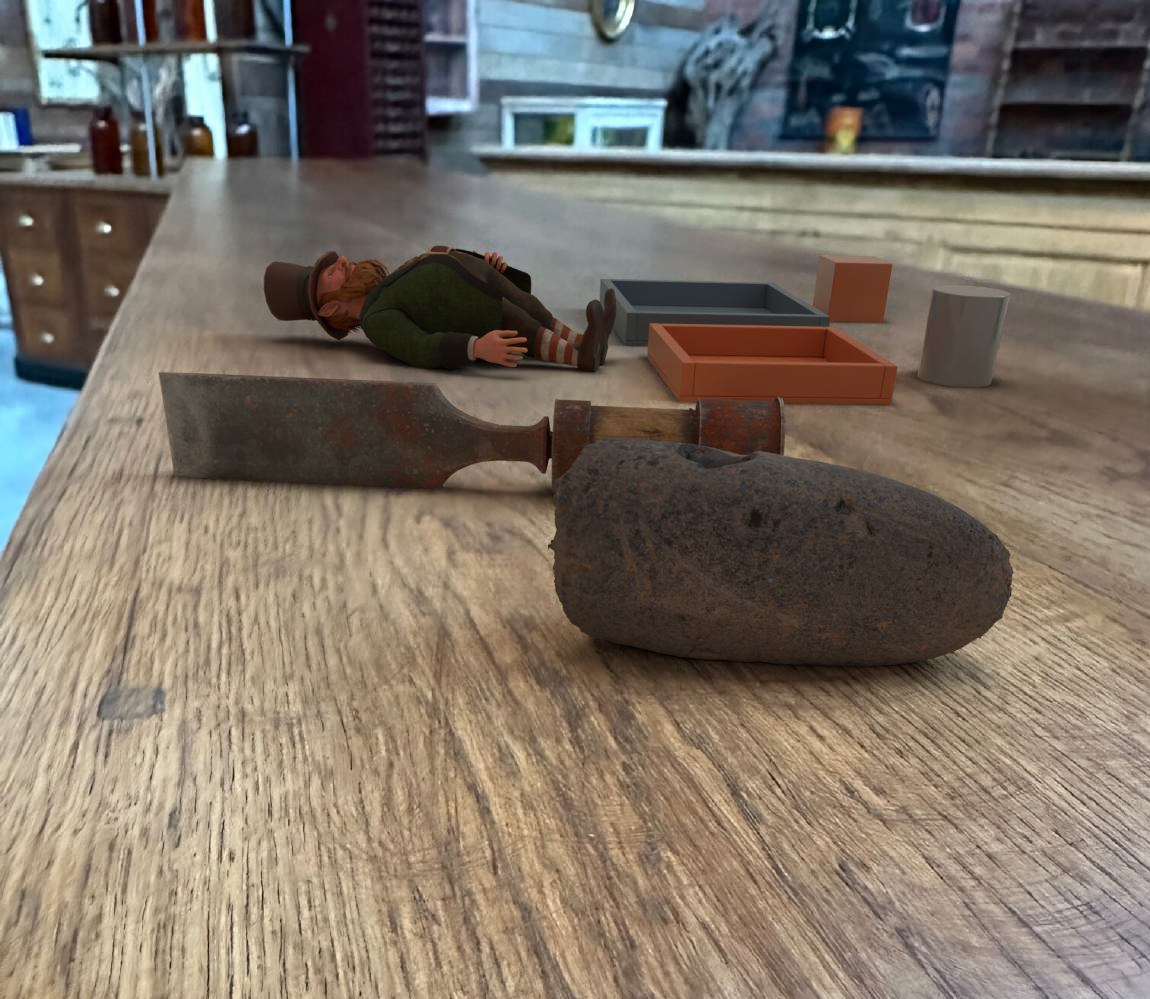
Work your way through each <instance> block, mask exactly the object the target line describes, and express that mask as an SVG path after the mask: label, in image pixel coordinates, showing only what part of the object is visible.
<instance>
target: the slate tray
mask: <svg viewBox="0 0 1150 999" xmlns="http://www.w3.org/2000/svg"><path fill="white" fill-rule="evenodd" d="M599 283H600V284H599V302H600V303H601V305H602V308H603V311H604V296H605V293H606V291H607V290H608V289H611V288H612V289H614V291H615V296H616V317H615V322H614V326H613V330H614V331H615V332H616V335H617V336H618V337H619V339H620V340H621V341H622V343H623V344H624V346H633V347H634V346H637V347H639V346H641V347H648V337H649V324H650V323H659V324H708V325H760V326H811V327H830V323H831V322H830V316H828V315H827V314H825V313H823V312H822V311H820V310H818V309H817V308H815V307H813V304H812V305H811V304H810V303H809V302H806V301H805V300H803V299H802V298H800V297H799V296H797V295H795V294H793V293H792V292H790V291H788V290H786V289H785V288H784V287H781V286H780V285H779V284H776V283H775V282H760V281H759V282H756V281H755V282H754V281H750V282H749V281H716V280H715V281H714V280H713V281H712V280H670V279H669V280H668V279H630V278H629V279H627V278H625V279H624V278H622V279H621V278H600V280H599Z"/></svg>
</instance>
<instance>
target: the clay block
mask: <svg viewBox="0 0 1150 999" xmlns="http://www.w3.org/2000/svg"><path fill="white" fill-rule="evenodd" d="M816 270H817V271H816V277H815V285H814V292H813V293H814V294H813V299H812V300H813V302H812V306H813V307H815V308H817V309H818V310H820V311H822V312H823V313H825V314H827V315H828V316H830V323H867V324H868V323H871V324H873V323H875V324H883V323H884V321H885V320H884V319H885V313H886V305H887V303H888V302H887V300H888V295H889V289H890V283H891V276H892V272H893V263H891V262H889V261H886V260H884V259H881V258H878V257H877V256H875V255H874V256H873V255H838V254H837V255H832V254H831V255H830V254H820V255H818V264H817V269H816Z"/></svg>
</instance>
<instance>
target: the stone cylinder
mask: <svg viewBox="0 0 1150 999" xmlns="http://www.w3.org/2000/svg"><path fill="white" fill-rule="evenodd" d="M1010 298H1011V293H1010V292H1008V291H1005V290H1002V289H999V288H991V287H986V286H985V287H984V286H976V285H960V284H959V285H958V284H957V285H956V284H955V285H953V284H949V285H947V284H946V285H939V286H934V287H933V289H932V294H931V297H930V305H929V308H928V314H927V320H926V326H925V330H924V336H923V342H922V347H921V352H920V359H919V362H918V363H919V364H918V370H917V375H916V377H917V378H918V379H919V380H922V381H925V382H927V383H931V384H934V385H941V386H947V387H958V388H981V387H986V386H987V387H988V386H990V385H991V384H992V381H993V377H994V372H995V368H996V363H997V360H998V353H999V349H1000V345H1001V340H1002V335H1003V330H1004V327H1005V326H1004V325H1005V322H1006V317H1007V312H1008V307H1009V302H1010Z"/></svg>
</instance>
